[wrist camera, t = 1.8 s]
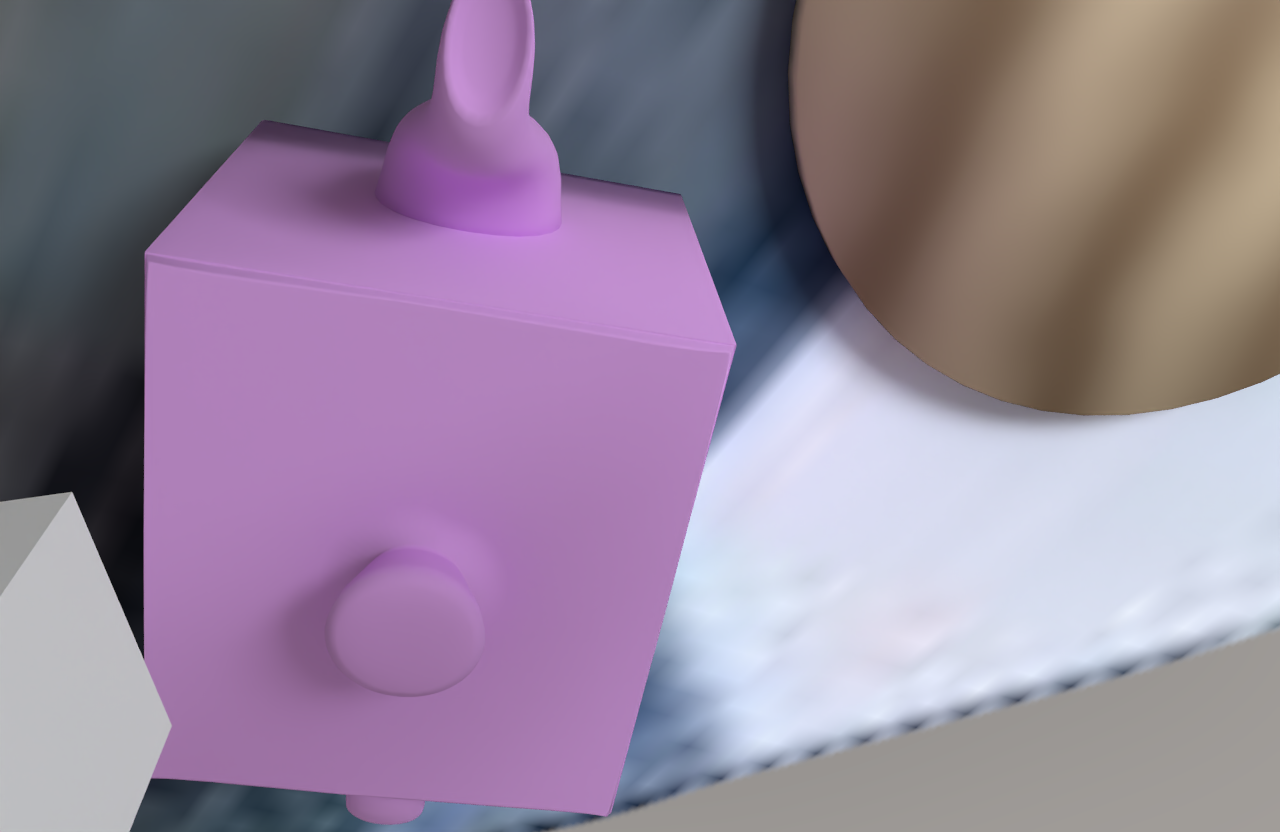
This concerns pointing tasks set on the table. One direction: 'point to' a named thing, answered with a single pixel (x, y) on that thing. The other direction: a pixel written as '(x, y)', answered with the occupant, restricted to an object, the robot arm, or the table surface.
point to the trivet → (1052, 189)
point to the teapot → (421, 452)
